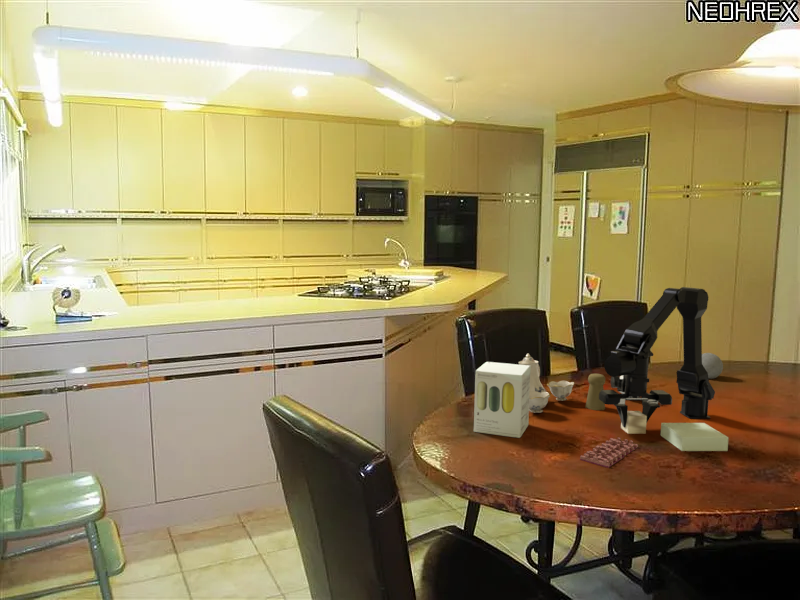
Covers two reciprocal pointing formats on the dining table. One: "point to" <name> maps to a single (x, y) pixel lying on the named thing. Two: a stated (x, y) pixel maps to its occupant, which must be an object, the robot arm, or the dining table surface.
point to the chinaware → (538, 392)
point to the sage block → (694, 437)
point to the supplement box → (502, 399)
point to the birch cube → (635, 423)
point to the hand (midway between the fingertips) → (633, 427)
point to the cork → (595, 392)
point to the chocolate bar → (609, 452)
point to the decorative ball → (712, 365)
